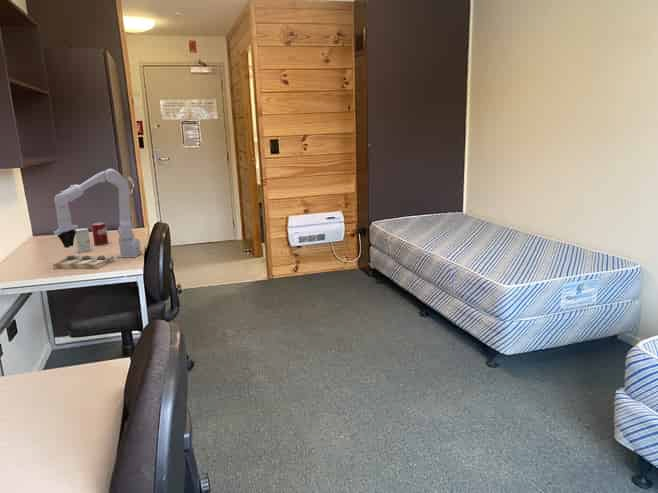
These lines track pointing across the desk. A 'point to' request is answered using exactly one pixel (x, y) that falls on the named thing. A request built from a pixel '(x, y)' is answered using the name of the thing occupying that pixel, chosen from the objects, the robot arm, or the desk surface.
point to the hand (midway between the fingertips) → (68, 246)
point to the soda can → (100, 234)
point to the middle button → (85, 257)
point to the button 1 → (70, 257)
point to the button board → (82, 263)
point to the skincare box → (83, 240)
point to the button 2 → (101, 257)
